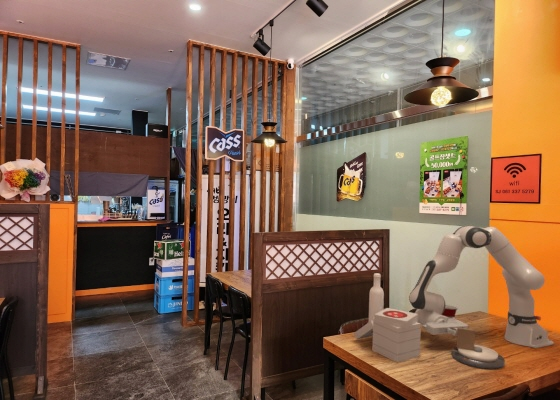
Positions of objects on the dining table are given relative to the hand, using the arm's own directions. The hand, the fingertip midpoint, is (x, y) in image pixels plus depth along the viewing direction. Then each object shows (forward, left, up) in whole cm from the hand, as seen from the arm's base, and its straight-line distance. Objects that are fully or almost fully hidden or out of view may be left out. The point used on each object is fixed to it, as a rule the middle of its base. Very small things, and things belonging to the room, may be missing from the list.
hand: (458, 333), depth 177 cm
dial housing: (-5, +7, -10) cm, 13 cm away
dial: (-5, +7, -7) cm, 11 cm away
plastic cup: (-21, -35, -10) cm, 42 cm away
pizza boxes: (+30, -11, -10) cm, 34 cm away
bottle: (+21, -39, -10) cm, 46 cm away
